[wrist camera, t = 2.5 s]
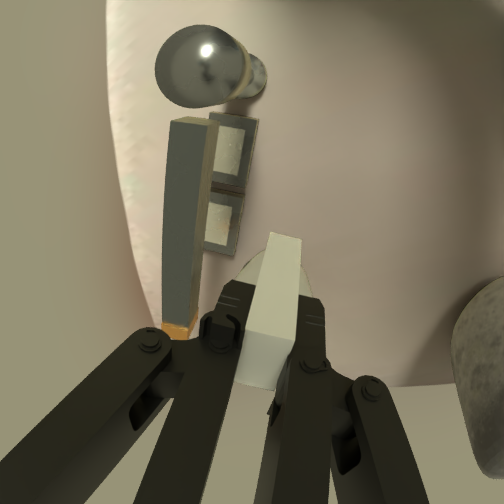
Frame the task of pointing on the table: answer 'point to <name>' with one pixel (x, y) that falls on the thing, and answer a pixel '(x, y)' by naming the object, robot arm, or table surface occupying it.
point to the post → (254, 79)
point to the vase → (482, 375)
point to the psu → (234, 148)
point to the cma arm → (192, 158)
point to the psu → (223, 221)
